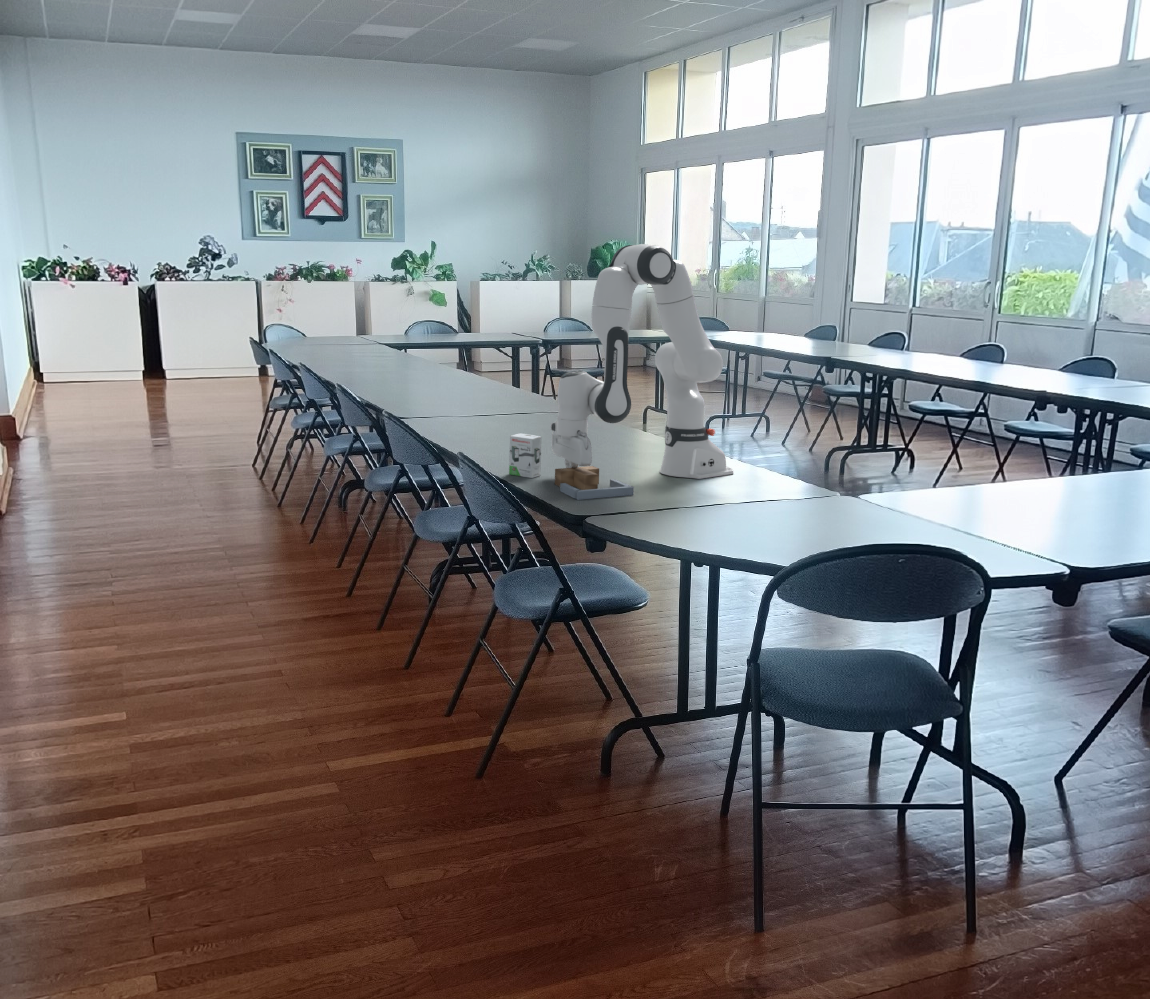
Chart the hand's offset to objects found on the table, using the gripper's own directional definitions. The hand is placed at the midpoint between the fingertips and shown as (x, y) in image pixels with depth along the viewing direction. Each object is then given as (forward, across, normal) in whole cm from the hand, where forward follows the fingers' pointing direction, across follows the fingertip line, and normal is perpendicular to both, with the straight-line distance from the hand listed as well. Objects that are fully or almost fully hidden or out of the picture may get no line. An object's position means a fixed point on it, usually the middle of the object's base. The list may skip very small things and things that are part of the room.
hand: (571, 475), depth 303 cm
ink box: (+2, +13, +9) cm, 16 cm away
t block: (+2, -7, 0) cm, 8 cm away
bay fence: (+2, -16, 0) cm, 16 cm away
